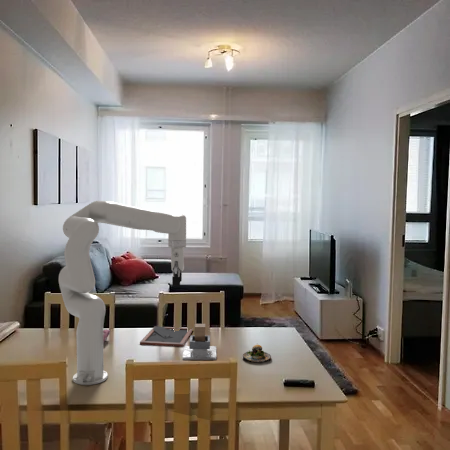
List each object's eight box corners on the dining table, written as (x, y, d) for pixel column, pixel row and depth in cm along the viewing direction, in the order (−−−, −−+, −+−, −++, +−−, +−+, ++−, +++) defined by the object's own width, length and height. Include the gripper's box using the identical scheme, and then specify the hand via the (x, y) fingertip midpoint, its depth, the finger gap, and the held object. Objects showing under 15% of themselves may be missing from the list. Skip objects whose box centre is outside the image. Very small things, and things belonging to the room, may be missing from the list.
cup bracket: (216, 359, 200) (216, 343, 199) (182, 359, 199) (182, 343, 199) (216, 348, 214) (216, 333, 213) (184, 348, 213) (184, 333, 213)
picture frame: (154, 329, 243) (139, 345, 218) (154, 325, 243) (139, 341, 218) (193, 331, 240) (183, 348, 216) (193, 327, 240) (183, 343, 215)
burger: (238, 361, 198) (238, 344, 198) (248, 353, 209) (249, 336, 209) (265, 366, 194) (266, 348, 193) (274, 357, 204) (275, 340, 204)
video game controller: (101, 349, 216) (108, 335, 215) (92, 344, 215) (99, 331, 215) (106, 342, 225) (113, 329, 225) (98, 337, 225) (104, 324, 225)
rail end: (205, 345, 204) (205, 326, 203) (194, 345, 204) (194, 326, 203) (205, 341, 208) (205, 323, 208) (195, 341, 208) (195, 323, 208)
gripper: (184, 246, 195) (184, 288, 196) (187, 241, 212) (186, 279, 214) (166, 246, 195) (166, 287, 196) (170, 241, 212) (170, 279, 214)
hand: (177, 283), depth 205 cm, fingers open, 9 cm apart
